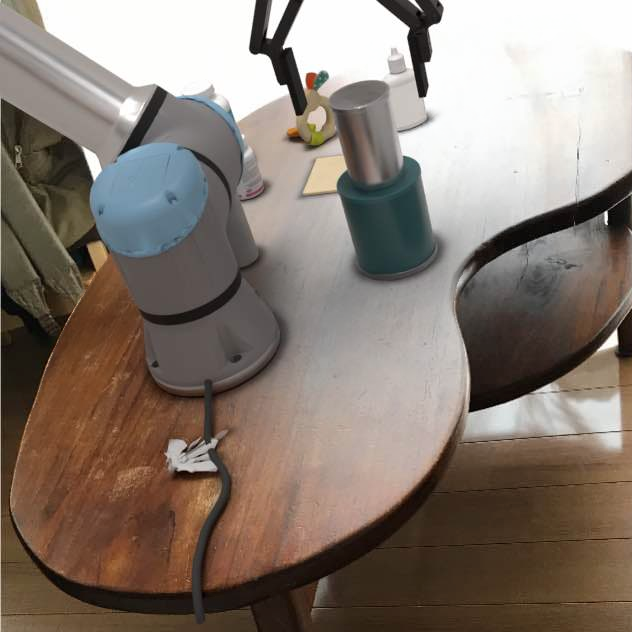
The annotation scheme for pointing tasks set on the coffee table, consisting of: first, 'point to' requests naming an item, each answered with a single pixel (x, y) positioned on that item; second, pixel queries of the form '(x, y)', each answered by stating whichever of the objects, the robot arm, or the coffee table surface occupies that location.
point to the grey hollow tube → (240, 235)
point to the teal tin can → (390, 225)
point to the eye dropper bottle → (404, 93)
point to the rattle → (314, 102)
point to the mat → (325, 175)
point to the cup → (368, 134)
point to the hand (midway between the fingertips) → (361, 101)
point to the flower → (191, 455)
